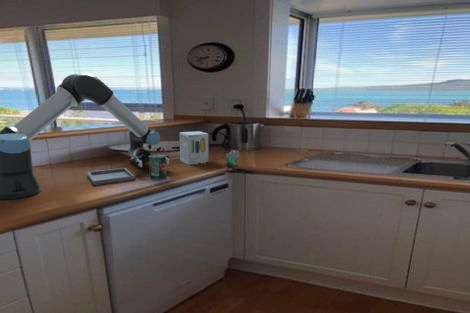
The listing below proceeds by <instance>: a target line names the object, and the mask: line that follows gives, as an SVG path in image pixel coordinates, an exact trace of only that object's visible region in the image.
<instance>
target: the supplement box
mask: <svg viewBox="0 0 470 313" xmlns="http://www.w3.org/2000/svg"><path fill="white" fill-rule="evenodd" d="M179 161H180V162H182V163H184V164H186V165H199V163H201V164H207V163H206V162H208V163H209V133H207V132H204V131H199V130H198V131H181V132H179Z"/></svg>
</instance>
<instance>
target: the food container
mask: <svg viewBox="0 0 470 313" xmlns="http://www.w3.org/2000/svg"><path fill="white" fill-rule="evenodd" d="M240 156H241V153H240V151H239V150H237V149H230V151H228V153H227V152H226V153H225V159H226V160H225V162H226V163H225V164H226V168H225V170H226V172H236V171H238V169H239V167H238V166H239V157H240Z"/></svg>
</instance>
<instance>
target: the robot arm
mask: <svg viewBox="0 0 470 313" xmlns="http://www.w3.org/2000/svg"><path fill="white" fill-rule="evenodd" d="M85 100H88V101H91V102H93V103H94V104H96V106H98V107H102V108H104V109H105V111H107V112H109V114H111V115H112V116H113V117H114V118H115V119H117V121H119V122H120V123H121V124H122V125H123V126H124V127H126V128H127V129H128V130H129V131H128V136H129V148H128V154H129V156H130V157H131V158H130V159H129V165H134V166H135V167H136V166H138V167H140V168H143V164H146V163H149V155H154V154H153V153H151V152H150V151H149V150H148V149H145V147H144V145H149V146H156V145H158V144H159V143H160V141H161V135H160V133H159V132H157V131H156V130H152V129H151V128H150V127H149V126H147V124H145V123H144V122H143V121H142V120H141V119H140V118H139V117H138V116H137V115H136V114H135V113H134V112H132V110H130V109H129V108H128V107H127V106H126V105H125V104H124V103H123V102H122V101H121V100H119V98H117V97H116V96H115V95H114V90H112V89H111V88H110V87H109V86H108V85H107V84H105V83H104V82H103V81H102V80H101V79H100V78H98V77H96V76H95V75H93V74H89V73H82V74H80V73H79V74H77V73H75V74H69V75H67V76H66V77H65V78H63V80H62V81H61V83H60V84H59V85H58V86H56V92H55V93H54V94H53V95H51V96H50V97H48V98H47V99H46V100H45V101H44V102H42V103H41V104H39V105H38V106H37V107H35V108H34V109H33V110H32V111H31V112H29V113H28V114H27V115H26V116H25V117H23V118H21V120H19V121H18V122H17V123H15V124H14V125H12V126H8V125H6V126H5V127H3V128H2V129H0V200H16V199H22V198H29V197H32V196H34V195H36V194H39V193H40V192H41V185H40V184H41V183H40V182H38V179H37V178H36V175H35V173H34V166H33V156H32V150H31V146H32V145H31V141H32V140H33V139H34V138H36V136H38V135H39V134H40V133H42V131H44V130H45V129H47V127H49V126H50V125H51V124H52V123H53V122H54V121H56V120H57V119H58V118H60V117H61V116H62V115H63V114H64V113H65V112H67V111H68V110H69V109H70V108H71V107H78V106H79V105H80V104H81V103H83V102H84V101H85ZM165 155H166V165H170V157H169V155H167V154H165Z"/></svg>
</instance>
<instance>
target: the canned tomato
mask: <svg viewBox="0 0 470 313" xmlns="http://www.w3.org/2000/svg"><path fill="white" fill-rule="evenodd" d="M166 155H167V154H162V153H161V154H160V153H155V154H154V155H149V161H148V164H149V169H148V170H149V179H150V180H151V179H152V181H162V180H165V179H167V163H166ZM161 179H162V180H161Z"/></svg>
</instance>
